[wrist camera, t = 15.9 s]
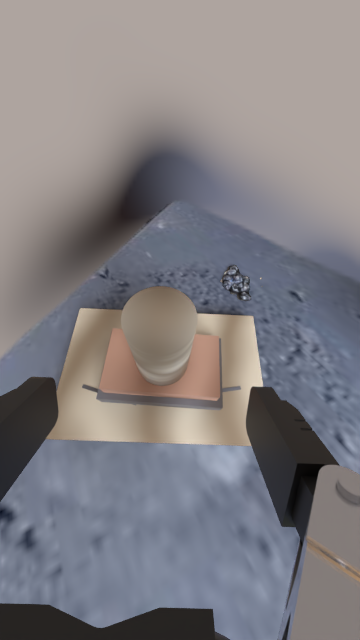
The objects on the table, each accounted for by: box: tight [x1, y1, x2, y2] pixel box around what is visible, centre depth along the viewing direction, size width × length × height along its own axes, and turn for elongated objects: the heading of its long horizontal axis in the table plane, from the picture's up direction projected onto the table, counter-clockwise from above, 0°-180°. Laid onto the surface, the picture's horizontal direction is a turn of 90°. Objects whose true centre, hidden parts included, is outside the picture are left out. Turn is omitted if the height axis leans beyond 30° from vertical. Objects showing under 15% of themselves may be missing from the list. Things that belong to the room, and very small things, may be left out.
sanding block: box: [96, 286, 223, 410], centre depth 16 cm, size 10×6×10 cm, turn 86°
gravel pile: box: [221, 265, 263, 301], centre depth 28 cm, size 7×8×2 cm
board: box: [46, 308, 263, 446], centre depth 22 cm, size 18×12×2 cm, turn 88°
